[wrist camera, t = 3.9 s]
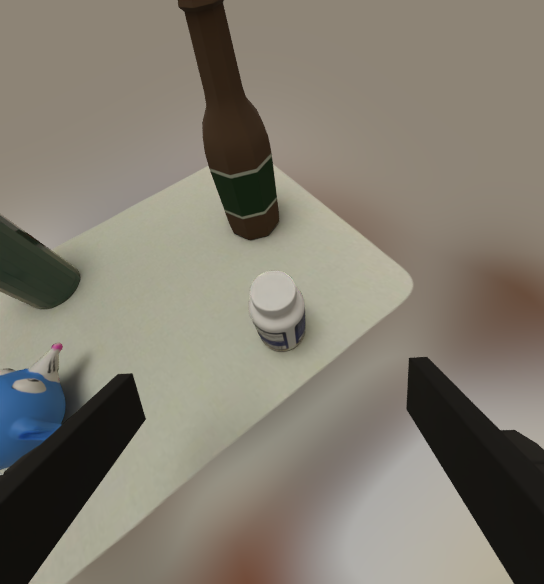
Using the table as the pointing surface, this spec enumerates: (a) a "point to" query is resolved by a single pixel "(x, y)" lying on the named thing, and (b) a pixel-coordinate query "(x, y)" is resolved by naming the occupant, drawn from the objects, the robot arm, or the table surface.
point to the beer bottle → (231, 126)
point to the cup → (33, 269)
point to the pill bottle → (277, 310)
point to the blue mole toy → (30, 406)
